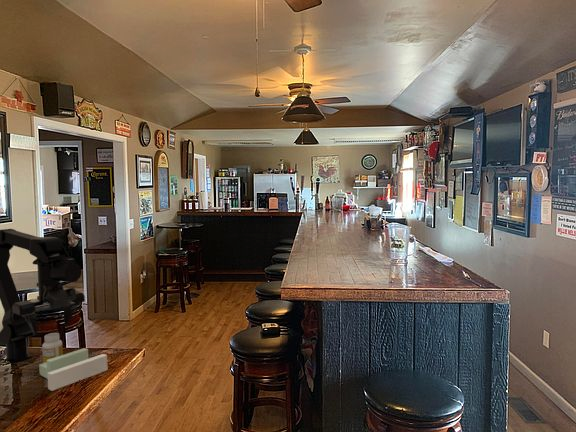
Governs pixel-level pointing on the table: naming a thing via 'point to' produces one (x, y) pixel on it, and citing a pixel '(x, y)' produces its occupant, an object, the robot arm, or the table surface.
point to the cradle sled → (63, 361)
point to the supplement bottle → (52, 346)
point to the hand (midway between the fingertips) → (51, 330)
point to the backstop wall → (77, 372)
